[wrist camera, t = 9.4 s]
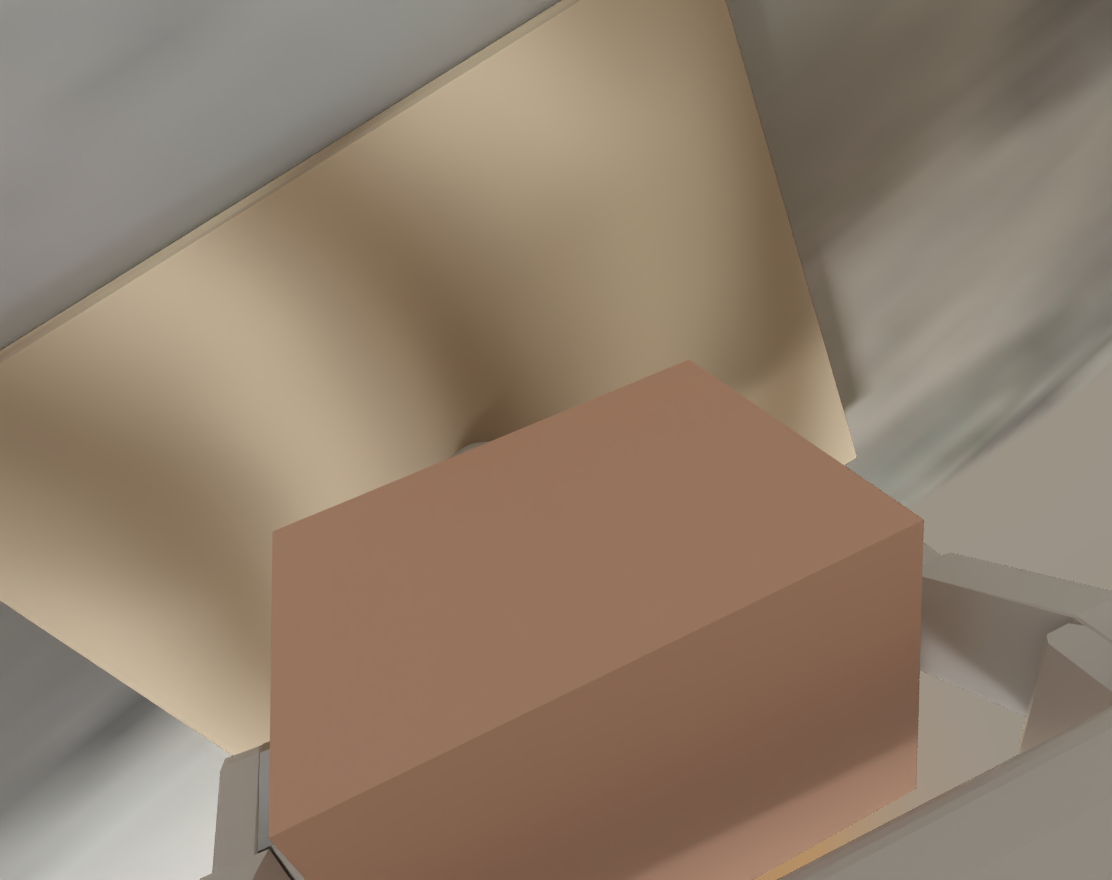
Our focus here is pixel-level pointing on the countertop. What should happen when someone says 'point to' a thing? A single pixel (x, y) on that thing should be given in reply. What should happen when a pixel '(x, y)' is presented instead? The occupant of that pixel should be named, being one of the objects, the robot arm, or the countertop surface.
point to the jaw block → (596, 652)
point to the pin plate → (396, 334)
